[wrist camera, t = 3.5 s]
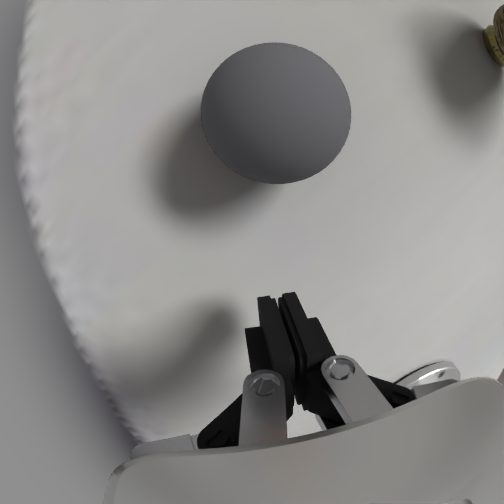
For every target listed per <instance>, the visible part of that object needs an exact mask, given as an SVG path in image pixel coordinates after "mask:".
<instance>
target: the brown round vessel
mask: <svg viewBox="0 0 504 504" xmlns="http://www.w3.org/2000/svg"><path fill="white" fill-rule="evenodd" d="M493 24H494V25H489V26H488V27H487V28H486V29H485V31H484V39H485V43H486V46H487V48H488V50H489V52H490V54H491V56H492V57H493V58H494V60H495V61H496V62H497V63H498V64H500V65H501V66H504V5H502V6H501V7H499V9H498V10H497V11H496V13H495V15H494V20H493Z"/></svg>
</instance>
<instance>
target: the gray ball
mask: <svg viewBox="0 0 504 504" xmlns="http://www.w3.org/2000/svg"><path fill="white" fill-rule="evenodd" d="M201 120H202V126H203V130H204V133H205V136H206V138H207V141H208V143H209V145H210V146H211V148H212V149H213V151H214V153H215V154H216V155H217V156H218V157H219V159H220V160H221V161H222V162H224V163H225V164H226V165H227V166H228V167H229V168H231V169H232V170H234V171H235V172H237V173H238V174H240V175H242V176H244V177H246V178H249V179H252V180H254V181H259V182H263V183H270V184H285V183H292V182H296V181H300V180H304V179H306V178H309V177H311V176H313V175H315V174H317V173H318V172H320V171H321V170H323V169H324V168H325V167H327V166H328V165H329V164H330V163H331V162H332V161H333V160H334V159H335V157H336V156H337V155H338V154H339V152H340V151H341V149H342V147H343V146H344V144H345V142H346V139H347V137H348V133H349V130H350V124H351V107H350V101H349V97H348V93H347V91H346V88H345V86H344V84H343V82H342V80H341V79H340V77H339V76H338V74H337V73H336V72H335V70H334V69H333V68H332V67H331V66H330V65H329V64H328V63H327V62H326V61H324V60H323V59H322V58H321V57H319V56H318V55H316V54H314V53H313V52H311V51H309V50H307V49H304V48H302V47H299V46H296V45H292V44H286V43H263V44H258V45H253V46H250V47H247V48H244V49H242V50H240V51H238V52H236V53H235V54H233V55H232V56H230V57H229V58H227V59H226V60H225V61H224V62H223V63H222V64H221V65H220V66H219V67H218V68H217V69H216V70H215V72H214V73H213V74H212V76H211V78H210V79H209V81H208V83H207V85H206V87H205V90H204V93H203V97H202V103H201Z"/></svg>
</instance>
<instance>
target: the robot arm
mask: <svg viewBox="0 0 504 504" xmlns="http://www.w3.org/2000/svg"><path fill="white" fill-rule="evenodd" d="M257 300H258V311H259V321H260V326H259V327H252V328H245V334H246V341H247V348H248V355H249V362H250V368H251V374H250V375H248V376H247V377H246V379H245V381H244V384H243V393H242V394H241V395H240V396H239V397H238V398H237V399H236V400H235V401H234V402H233V403H232V404H231V405H230V406H228V407H227V408H226V409H225V410H224V411H223V412H222V413H221V414H220V415H219V416H218V417H216V418H215V419H214V420H213V421H212V422H211V423H210V424H208V425H207V426H206V427H205V428H204V429H203V430H202V431H201V432H200V433H199V434H197V435H193V436H190V434H187V435H183V436H178V437H173V438H168V439H163V440H158V441H152V442H146V443H142V444H139V445H137V446H136V447H134V448H133V450H132V452H131V457H130V459H131V460H129V461H127V462H125V463H123V464H122V465H120V466H118V467H117V468H116V469H115V470H114V472H113V473H112V474H111V476H110V478H109V481H108V484H107V486H106V490H105V494H104V499H103V504H504V386H503V385H502V384H501V383H500V382H498V381H497V380H495V379H493V378H489V377H477V378H470V379H465V380H462V381H460V378H461V375H460V371H459V370H458V368H457V367H456V366H455V365H454V364H453V363H450V362H439V363H436V364H432V365H429V366H427V367H425V368H422V369H420V370H418V371H416V372H414V373H413V374H411V375H409V376H407V377H406V378H404V379H403V380H401V381H400V382H398V383H397V384H394V383H391V382H388V381H384V380H381V379H378V378H375V377H372V376H369V375H367V374H366V373H365V372H364V371H363V369H362V368H361V367H360V366H359V364H358V363H357V362H356V361H355V360H354V359H353V358H350V357H348V356H344V355H336V354H335V352H334V350H333V348H332V346H331V344H330V342H329V340H328V338H327V336H326V334H325V332H324V330H323V328H322V326H321V324H320V322H319V320H318V318H316V317H314V318H309V319H307V317H306V314H305V312H304V310H303V308H302V306H301V304H300V301H299V299H298V297H297V295H296V293H295V292H291V293H284V294H282V297H279V298H278V306H279V309H278V306H277V303H276V300H275V298H273V299H271V298H270V296H264V297H257ZM294 395H295V398H296V402H297V404H298V405H300V404H302V406H303V410H304V411H305V410H308V411H310V412H312V413H314V414H315V416H316V420H317V421H318V423H319V425H320V427H321V429H322V430H323V431H320V432H316V433H312V434H308V435H303V436H298V437H293V438H288V439H287V420H288V419H289V418H290V417H291V416H292V414H293V406H294Z"/></svg>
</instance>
